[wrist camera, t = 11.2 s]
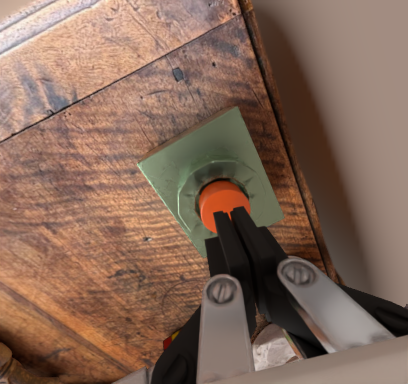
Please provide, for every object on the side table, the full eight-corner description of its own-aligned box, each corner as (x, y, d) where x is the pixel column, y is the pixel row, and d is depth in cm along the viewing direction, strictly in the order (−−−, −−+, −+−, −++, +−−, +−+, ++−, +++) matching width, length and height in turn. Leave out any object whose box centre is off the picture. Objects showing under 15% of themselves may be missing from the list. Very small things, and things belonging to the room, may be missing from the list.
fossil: (326, 333, 26) (306, 410, 25) (290, 304, 32) (273, 365, 31) (273, 328, 23) (250, 414, 22) (245, 297, 29) (226, 364, 29)
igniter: (146, 152, 18) (129, 171, 12) (225, 107, 17) (245, 104, 11) (199, 232, 21) (205, 274, 16) (266, 198, 20) (296, 230, 15)
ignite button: (190, 194, 13) (191, 205, 12) (231, 171, 13) (238, 180, 11) (211, 227, 15) (215, 242, 13) (249, 208, 14) (258, 220, 13)
